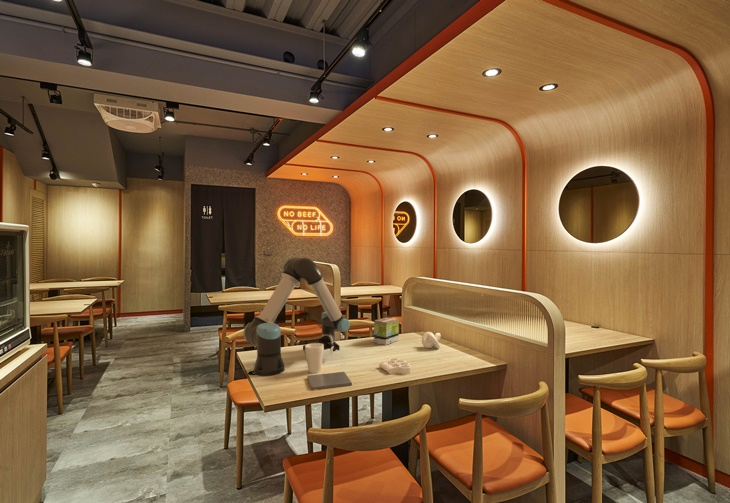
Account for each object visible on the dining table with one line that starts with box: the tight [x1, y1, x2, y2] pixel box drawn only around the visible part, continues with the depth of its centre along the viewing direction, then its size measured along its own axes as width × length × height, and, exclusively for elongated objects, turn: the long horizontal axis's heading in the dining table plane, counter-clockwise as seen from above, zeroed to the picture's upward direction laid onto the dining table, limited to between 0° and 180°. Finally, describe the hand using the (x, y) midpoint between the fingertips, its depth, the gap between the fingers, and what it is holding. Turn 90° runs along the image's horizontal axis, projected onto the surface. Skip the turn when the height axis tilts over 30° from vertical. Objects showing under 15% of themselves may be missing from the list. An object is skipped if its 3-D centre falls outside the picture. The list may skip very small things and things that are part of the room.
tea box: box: [373, 316, 400, 346], centre depth 248 cm, size 15×10×15 cm, turn 143°
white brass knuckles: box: [378, 357, 413, 375], centre depth 194 cm, size 3×18×15 cm
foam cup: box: [304, 342, 325, 374], centre depth 192 cm, size 10×9×13 cm
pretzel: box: [421, 331, 441, 349], centre depth 233 cm, size 11×12×9 cm
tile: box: [306, 371, 353, 391], centre depth 177 cm, size 18×16×1 cm
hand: (318, 351), depth 202 cm, fingers open, 13 cm apart
